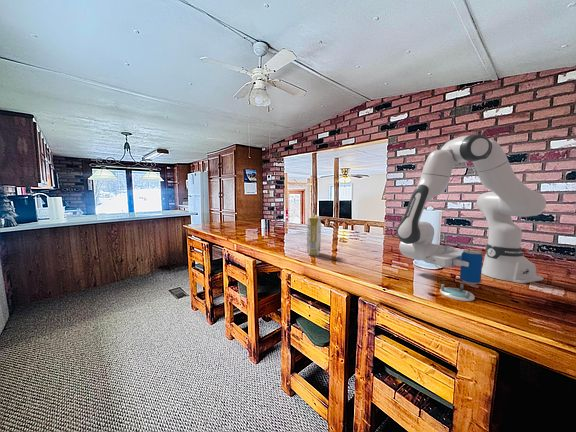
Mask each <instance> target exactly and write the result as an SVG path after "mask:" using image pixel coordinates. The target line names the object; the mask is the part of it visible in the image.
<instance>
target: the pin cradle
mask: <svg viewBox="0 0 576 432" xmlns="http://www.w3.org/2000/svg"><path fill="white" fill-rule="evenodd" d="M440 285H441V287H440V289H439V293H440V294H441V295H442V296H444V297H446V298H449V299H452V300H456V301H460V302H461V301H462V302H472V301H475V299H476V298H475V296H476V295H474V294H473V293H472V292H470V291H468V290H465V289H464V283H460V284H459V288H457V287H451V286H450V287H448V286H447V287H445V284H444V283H441V284H440Z"/></svg>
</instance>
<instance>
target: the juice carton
mask: <svg viewBox="0 0 576 432" xmlns="http://www.w3.org/2000/svg"><path fill="white" fill-rule="evenodd" d="M306 225H307V228H306V231H307V234H306V235H307V237H306V240H307V242H306V250H307V256H315V257H318V256H320V253H321V244H322V243H321V242H322V241H321V238H322V237H321V236H322V235H321V234H322V232H321V231H322V230H321V229H322V221H321V217H320V215H316V214H315V215H314V216H309V217H308V219H307V224H306Z"/></svg>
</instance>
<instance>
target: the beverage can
mask: <svg viewBox="0 0 576 432" xmlns="http://www.w3.org/2000/svg"><path fill="white" fill-rule="evenodd" d="M463 250H464V251H463V253H462V256H461V261H469V262H470V266H468V267H466V266H460V271H459V279H460V280H461V281H462V282H463V283H466V284H470V285H478V284H479V283H481V281H482V273H481V272H482V267H483V261H484V259H483V257H484V256H483V254H482V252H481V251H478V250H473V249H472V250H471V249H463Z"/></svg>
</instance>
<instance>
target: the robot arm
mask: <svg viewBox="0 0 576 432" xmlns="http://www.w3.org/2000/svg"><path fill="white" fill-rule="evenodd" d="M468 162H471V163H472V164H473V167H474V170H475V171H476V174H477V175H478V176H477V177H478V179H479V180H480V183H481V184H482V186H483V187H484V188H486V189H488V190H490V191H486V192H483V193H481V194H480V195H479V196H477V199H476V207H477V209H478V210H479V211H480V212H481V213H482V214H483V215H484V217H485V220H486V222H487V226H488V227H487V228H488V237H487V243H486V246H485V252H486V253H485V255H484V259H483V261H482V272H481V275H484V276H486V277H489V278H493V279H495V280H496V279H498V280H502V281H507V282H508V281H509V282H514V283H518V284H527V283H533V282H539V281H544V277H542V276H541V275H539V274H537V267H536V264H534V263H533V262H531V261H530V260H529V259H527V258H526V257H525V255H524V253H525V254H529V252H530V249H529V248H527V247H526V248H525V247H521V246H522V239H523V238H522V237H523V230H522V229H521V227H519V226H518V225H517V224H515V222H514V221H513V218H512V217H520V218H524V217H534V216H535V217H536V216H539V215H541V214H542V213H543V212H544V210H545V209H546V206H547V199H546V198H545V196H544V195H543V194H542V193H539V192H537V191H535V190H533V189H531V188H530V187H528V186H527V185H526V184H524V182H523V181H521V180H520V179H519V178H518V177H517V175H516V174H515V171H514V170H513V168H512V166H511V163H510V161H509V159H508V157H507V154H506V153H505V151H504V149H503V148H502V146H501V145H500V144H499V143H498V142H497V140H493V139H489V138H488V137H487V136H485V135H483V134H477V133H476V134H475V133H474V134H470V135H462V136H459V137H456V138H451V139H449V140H446V141H444V142H443V143H442V144H441V146H440V147H439V148H438V149H436V150H433V151H432V152H430V153H429V154H428V157H427V158H426V160H425V163H424V166H423V167H422V172H421V174H420V178H419V181H418V184H417V185H416V187H415V189H414V190H413V192H412V194H411V197H410V199H409V201H408V204H407V207H406V210H405V213H404V215H403V217H402V219H401V221H400V222H399V224H398V225H397V227H396V235H397V236H396V237H397V238H398V240H399V241H400V242H399V247H398V249H399V252H400V254H401V255H402V256H403V257H405V258H409V259H411V260H415V261H423V262H425V263H428V264H431V265H435V266H439V267H441V268H451V267H453V266H456V267H457V266H459V267H461V266H466V267H468V266H470V262H469V261H461V256H462V253H463V251H464V250H465V249H462V248H456V247H452V246H451V245H448V244H444V245H443V244H437V243H433V239H434V237H435V229H434V227H433V225H432V224H431V223H429V222H427V221H420V220H421V218H422V216H423V215H422V214H423V212H424V210H425V209H424V208H425V206H426V205H427V203H428V202H429V201H430V200H432V199H433V198H435V197H438V196H440V195H441V194H443V193H445V191H446V190H447V188H448V185H449V183H450V179H451V176H452V171H453V168H454V167H455V165H456V164H463V163H468Z"/></svg>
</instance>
